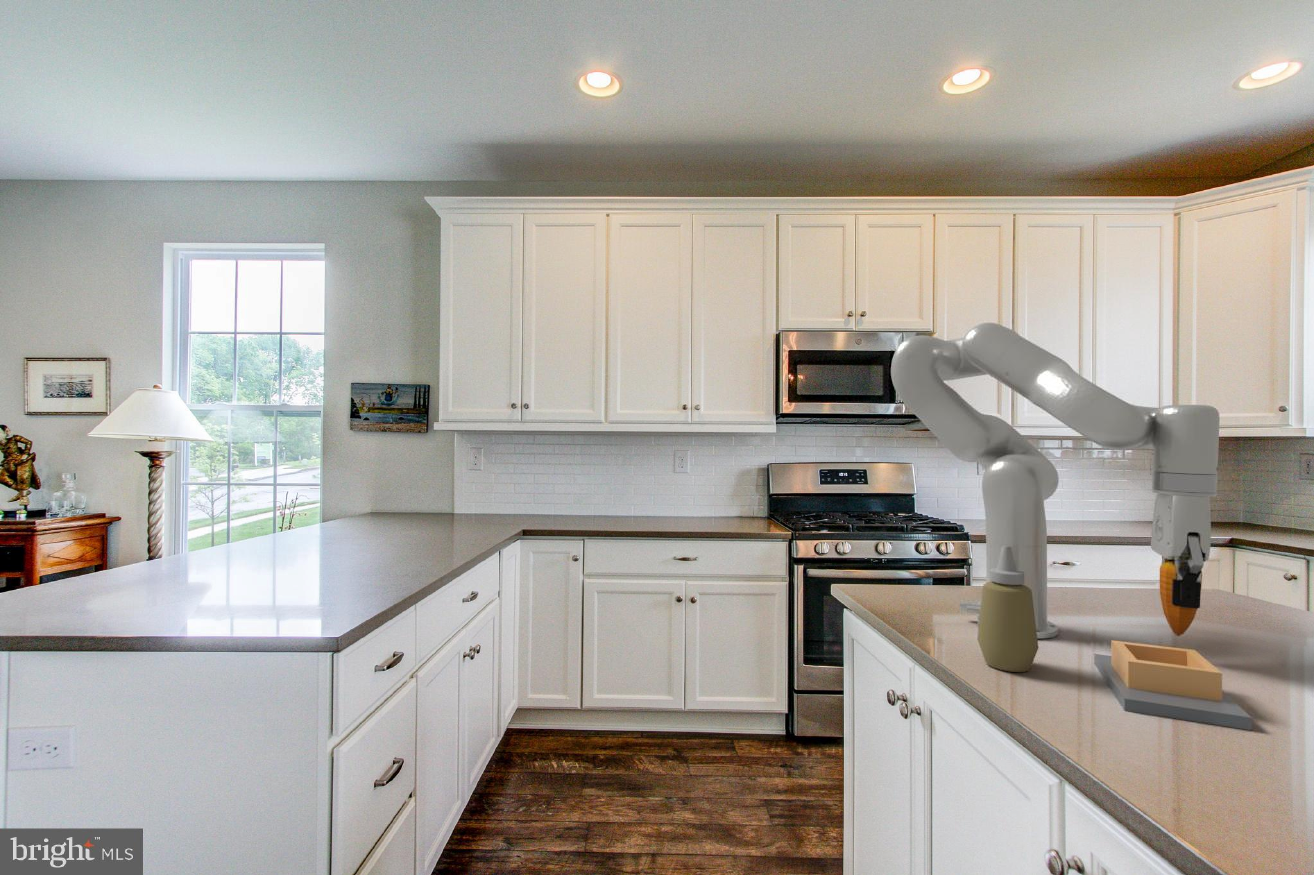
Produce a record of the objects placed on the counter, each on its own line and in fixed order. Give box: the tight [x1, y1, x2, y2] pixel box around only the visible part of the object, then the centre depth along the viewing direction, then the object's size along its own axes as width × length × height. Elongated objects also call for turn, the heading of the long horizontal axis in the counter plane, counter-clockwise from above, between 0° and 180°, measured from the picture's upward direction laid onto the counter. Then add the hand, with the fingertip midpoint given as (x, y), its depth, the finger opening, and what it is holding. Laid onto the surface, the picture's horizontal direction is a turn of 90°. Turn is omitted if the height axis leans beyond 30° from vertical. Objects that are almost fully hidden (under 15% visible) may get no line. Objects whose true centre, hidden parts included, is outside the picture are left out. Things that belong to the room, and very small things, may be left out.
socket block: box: [1093, 639, 1253, 731], centre depth 81 cm, size 12×18×5 cm, turn 154°
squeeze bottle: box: [977, 546, 1039, 673], centre depth 91 cm, size 8×8×18 cm
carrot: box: [1159, 556, 1203, 637], centre depth 93 cm, size 5×5×15 cm
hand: (1179, 600), depth 93 cm, fingers closed on carrot, 4 cm apart
